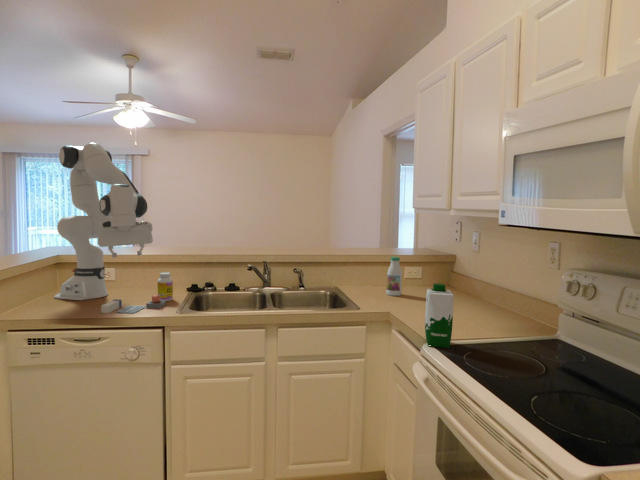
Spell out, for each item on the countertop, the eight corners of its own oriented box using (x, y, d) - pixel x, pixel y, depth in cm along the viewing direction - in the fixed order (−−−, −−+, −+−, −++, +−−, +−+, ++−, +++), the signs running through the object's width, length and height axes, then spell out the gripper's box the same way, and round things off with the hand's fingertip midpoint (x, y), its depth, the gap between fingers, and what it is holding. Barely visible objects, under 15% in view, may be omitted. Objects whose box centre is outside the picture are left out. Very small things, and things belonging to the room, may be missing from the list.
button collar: (146, 308, 170) (146, 303, 170) (152, 304, 176) (152, 300, 176) (160, 308, 170) (159, 303, 170) (165, 304, 176) (165, 300, 176)
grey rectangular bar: (108, 313, 161) (108, 305, 161) (101, 312, 162) (101, 305, 161) (121, 306, 171) (121, 299, 171) (114, 306, 171) (114, 299, 171)
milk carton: (448, 340, 137) (451, 283, 135) (453, 349, 128) (456, 289, 126) (423, 338, 138) (425, 282, 136) (425, 347, 129) (428, 287, 128)
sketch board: (115, 312, 162) (115, 312, 162) (128, 306, 173) (128, 305, 173) (134, 313, 162) (134, 312, 162) (146, 306, 173) (146, 305, 173)
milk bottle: (390, 292, 212) (391, 255, 210) (403, 294, 207) (405, 257, 206) (383, 294, 206) (385, 257, 204) (397, 297, 201) (398, 258, 199)
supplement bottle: (167, 302, 181) (167, 274, 180) (154, 301, 182) (154, 274, 181) (175, 298, 188) (175, 272, 187) (163, 297, 189) (162, 271, 188)
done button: (150, 303, 171) (150, 296, 171) (154, 301, 175) (154, 294, 174) (158, 303, 171) (158, 296, 171) (161, 301, 175) (161, 295, 174)
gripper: (152, 221, 166) (155, 254, 166) (99, 224, 161) (102, 258, 161) (150, 220, 160) (153, 254, 160) (95, 224, 155) (97, 258, 155)
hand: (127, 256), depth 160 cm, fingers open, 8 cm apart
